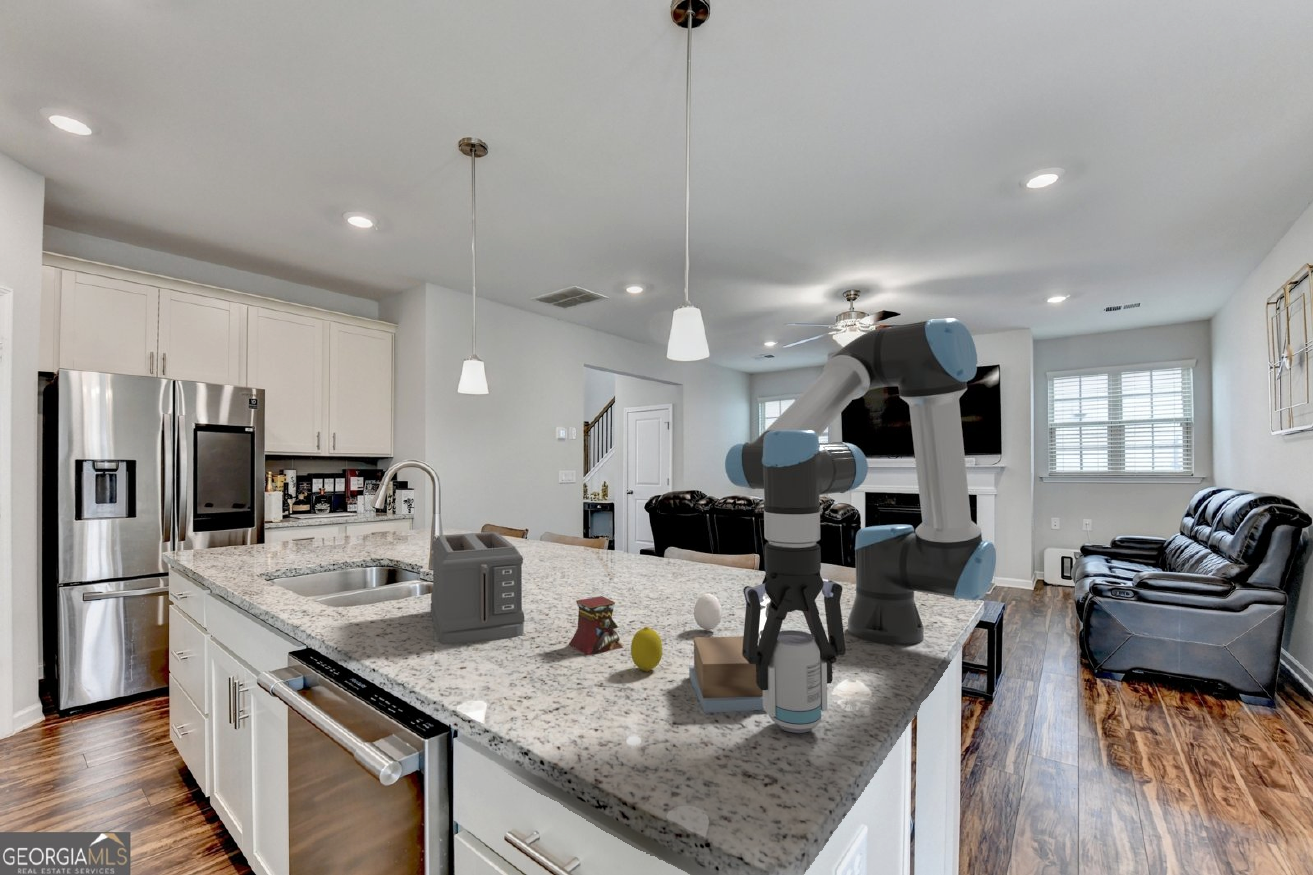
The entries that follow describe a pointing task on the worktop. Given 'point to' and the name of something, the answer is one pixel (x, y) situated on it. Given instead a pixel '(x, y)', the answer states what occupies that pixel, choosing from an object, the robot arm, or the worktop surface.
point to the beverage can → (796, 681)
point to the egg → (707, 612)
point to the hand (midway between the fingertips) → (795, 709)
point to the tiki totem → (595, 627)
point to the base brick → (724, 699)
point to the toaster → (476, 588)
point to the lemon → (646, 649)
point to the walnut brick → (724, 668)
